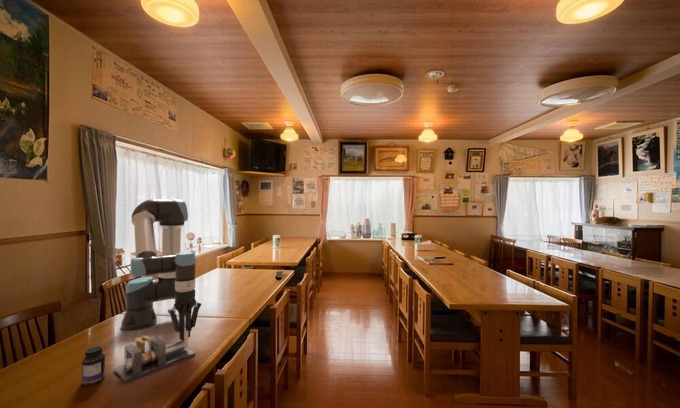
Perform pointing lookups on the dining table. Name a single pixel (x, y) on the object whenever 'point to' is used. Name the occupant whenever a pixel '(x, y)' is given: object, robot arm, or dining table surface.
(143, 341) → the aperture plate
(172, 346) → the air tube
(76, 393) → the dining table surface
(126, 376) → the grey mechanical fixture
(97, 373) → the pill bottle
